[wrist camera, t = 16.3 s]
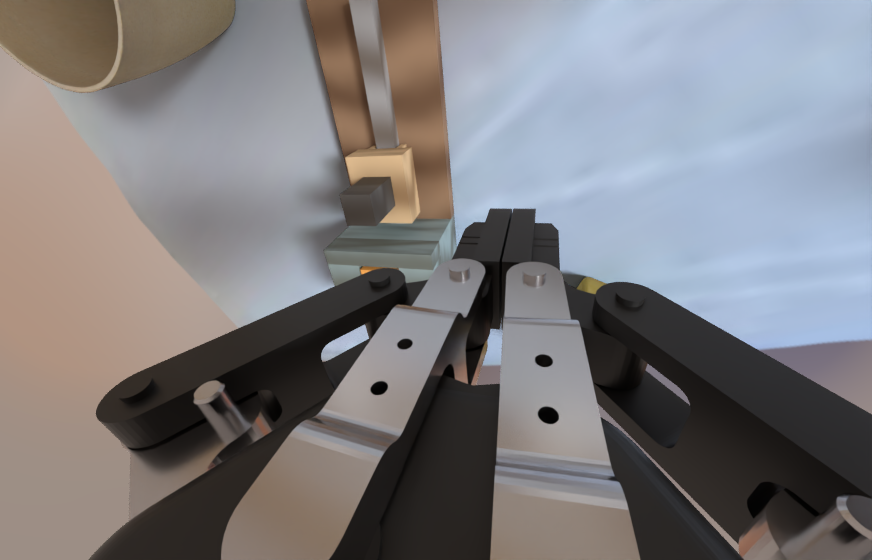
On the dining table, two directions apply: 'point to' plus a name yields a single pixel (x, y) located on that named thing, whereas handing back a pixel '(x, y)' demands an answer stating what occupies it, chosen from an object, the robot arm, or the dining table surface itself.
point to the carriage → (381, 187)
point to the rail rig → (389, 124)
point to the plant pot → (107, 37)
